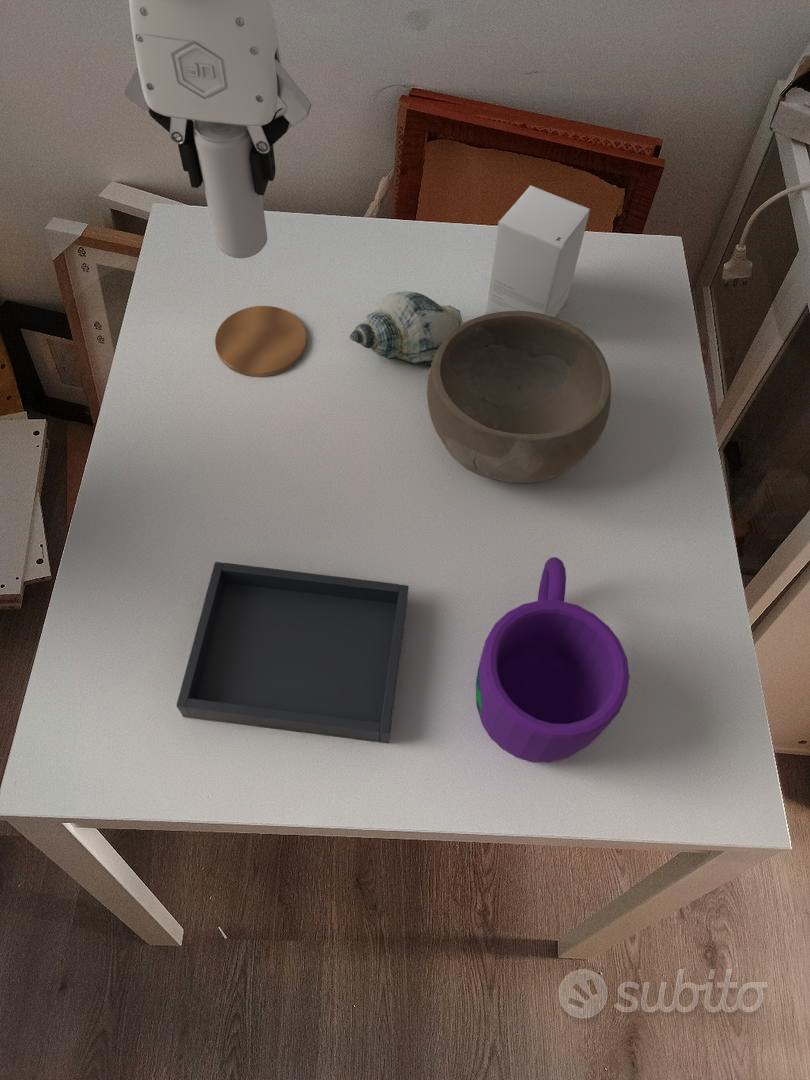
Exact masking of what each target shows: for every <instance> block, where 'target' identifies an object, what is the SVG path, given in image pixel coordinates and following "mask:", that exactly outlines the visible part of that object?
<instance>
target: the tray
mask: <svg viewBox="0 0 810 1080" xmlns="http://www.w3.org/2000/svg"><path fill="white" fill-rule="evenodd" d="M408 598H409V585H408V584H400V583H392V582H384V581H376V580H367V579H360V578H351V577H343V576H335V575H329V574H328V575H326V574H320V573H319V574H318V573H311V572H302V571H294V570H285V569H278V568H271V567H270V568H269V567H262V566H256V565H255V566H253V565H245V564H237V563H230V562H220V561H215V562H214V564H213V567H212V571H211V575H210V580H209V583H208V587H207V590H206V594H205V597H204V602H203V605H202V608H201V612H200V616H199V620H198V625H197V627H196V631H195V635H194V638H193V642H192V646H191V650H190V654H189V657H188V660H187V665H186V668H185V671H184V676H183V679H182V683H181V686H180V690H179V694H178V698H177V701H176V707H177V709H178V711H179V713H180V714H181V716H182V718H188V719H195V720H196V719H197V720H203V721H204V720H205V721H211V722H217V723H218V722H219V723H226V724H235V725H242V726H251V727H257V728H264V729H265V728H266V729H272V730H273V729H274V730H281V731H289V732H298V733H304V734H312V735H321V736H328V737H336V738H344V739H351V740H359V741H368V742H373V743H374V742H375V743H382V744H389V742H390V736H391V727H392V721H393V712H394V706H395V705H394V704H395V698H396V690H397V681H398V676H399V667H400V659H401V651H402V645H403V644H402V643H403V637H404V630H405V629H404V628H405V621H406V616H407V615H406V613H407V607H408Z"/></svg>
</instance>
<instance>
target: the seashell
mask: <svg viewBox="0 0 810 1080" xmlns="http://www.w3.org/2000/svg"><path fill="white" fill-rule="evenodd" d="M462 322H463V317H462V314H461V311H460V310H459V309H457V308H456V307H455V306H451V305H440V304H439V303H437V302H436V301H435V300H434V299H432V298H430V297H428V296H426V295H425V294H423V293H420V292H416V291H407V290H406V291H405V290H404V291H403V290H402V291H395V292H392V293H389V294H387V295H385V296H384V297H383V298H382V299H381V300H380V301H379V302H377V304H376V305H375V307H374V309H373V310H372V312H371V313H368V314H367V315H366V316H365V317H364V318H363V319H361V322H360V323H359V324H358V325H357V326H356V327H355V328H354V329H353V331H352V332H351V333H350V334H349V339H350V340H351V341H352V342H356V343H357V344H358V345H359V344H360V345H361V346H362V347H363V348H365V349H371V351H373V353H375V354H376V355H378V356H380V357H383V358H386V359H391V358H397V359H399V360H401V361H403V362H404V361H405V362H407V363H409V364H414V365H430V366H431V364H432V361H433V359H434V356H435V354H436V352H437V350H438V348H439V347H440V345H441V344H442V342H443V340H444V339H445V338H446V337H447V336H448V335H449V334H450V333H451V332H452V331H453V330H455V329H456V328H458V327H459V326H460V325H462V324H463V323H462Z"/></svg>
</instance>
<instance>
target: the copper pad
mask: <svg viewBox="0 0 810 1080" xmlns="http://www.w3.org/2000/svg"><path fill="white" fill-rule="evenodd" d="M307 339H308V338H307V332H306V328H305V326H304V325H303V323H302V321H301V320H300V319H299V318H298V317H297V316H296V315H295V314H293V313H291V312H290V311H288V310H286V309H283V308H282V307H281V308H280V307H277V306H272V305H256V306H250V307H246V308H243V309H240V310H238V311H235V312H234V313H232V314H231V315H229V316H227V318H225V320H224V321H222V323H221V324H220V325H219V327H218V328H217V331H216V334H215V339H214V343H215V344H214V345H215V350H216V353H217V356H218V358H219V360H221V362H222V363H223V365H225V366H226V367H227V368H229V369H230V370H232V371H234V372H236V373H237V374H240V375H244V376H250V377H269V376H273V375H278V374H280V373H283V372H286V371H287V370H289V369H291V368H292V367H293V366H294V365H296V364H297V363H298V362H299V361H300V359H301V358H302V357H303V355H304V353H305V352H306V348H307V342H308V340H307Z"/></svg>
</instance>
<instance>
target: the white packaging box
mask: <svg viewBox="0 0 810 1080" xmlns="http://www.w3.org/2000/svg"><path fill="white" fill-rule="evenodd" d="M590 211H591V208H588V207H586V206H584V205H581V204H580V203H579V204H578V203H576V202H574V201H571V200H568V199H566V198H564V197H561V196H558V195H556V194H553V193H551V192H548V191H546V190H544V189H541V188H539V187H536V186H533V185H531V184H530V185H529V186H528V187H527V188H526V190H525V191H524V192H523V193H522V194H521V196H519V198H518V199H517V200H516V201H515V202H514V204H513V205H512V206H511V207H510V208H509V209H508V210H507V211H506V213H505V214H504V215H503V216H502V217H501V218H500V219H499V220H498V223H497V233H496V239H495V247H494V252H493V260H492V266H491V274H490V281H489V286H488V287H489V288H488V296H487V301H486V302H487V304H486V311H485V313H486V315H487V314H491V313H496V312H503V311H529V312H536V313H540V314H544V315H547V316H552V317H555V318H556V316H557V315H558V314H559V312H560V311H561V309H562V308H563V307H564V306H565V304H566V303H567V301H568V300H569V299H568V298H569V295H570V291H571V287H572V283H573V279H574V275H575V271H576V267H577V263H578V260H579V255H580V251H581V248H582V244H583V239H584V237H585V232H586V228H587V224H588V220H589V216H590V213H591V212H590Z"/></svg>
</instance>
